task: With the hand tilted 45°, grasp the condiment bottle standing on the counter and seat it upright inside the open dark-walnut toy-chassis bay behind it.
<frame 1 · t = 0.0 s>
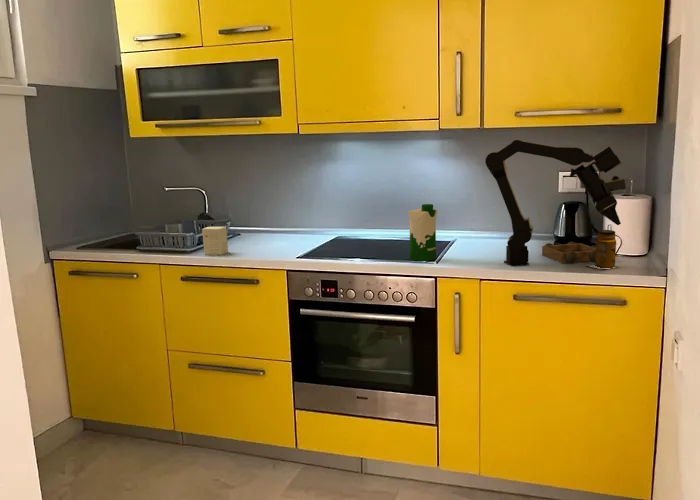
hand: (618, 222, 199), 15 cm above the countertop, tool tilted 35°, fingers open, 9 cm apart
condiment: (602, 267, 204), on the countertop
small box: (216, 254, 248), on the countertop
chassis bay: (571, 257, 219), on the countertop
milk carton: (422, 260, 224), on the countertop
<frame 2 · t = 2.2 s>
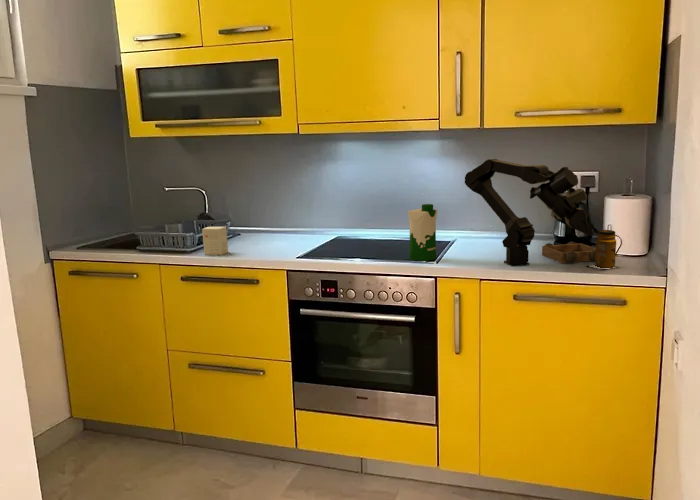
hand: (586, 232, 201), 12 cm above the countertop, tool tilted 45°, fingers open, 9 cm apart
nothing on the countertop moved.
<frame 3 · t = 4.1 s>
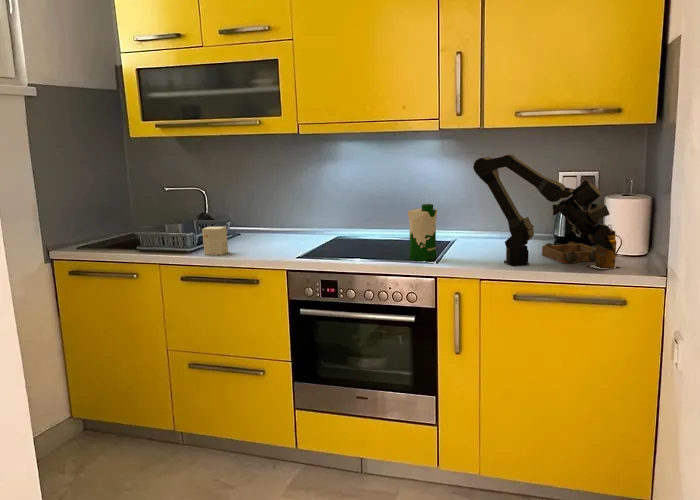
hand: (607, 246, 202), 7 cm above the countertop, tool tilted 45°, fingers closed on condiment, 6 cm apart
condiment: (602, 267, 204), on the countertop, touching gripper
everything else where it was.
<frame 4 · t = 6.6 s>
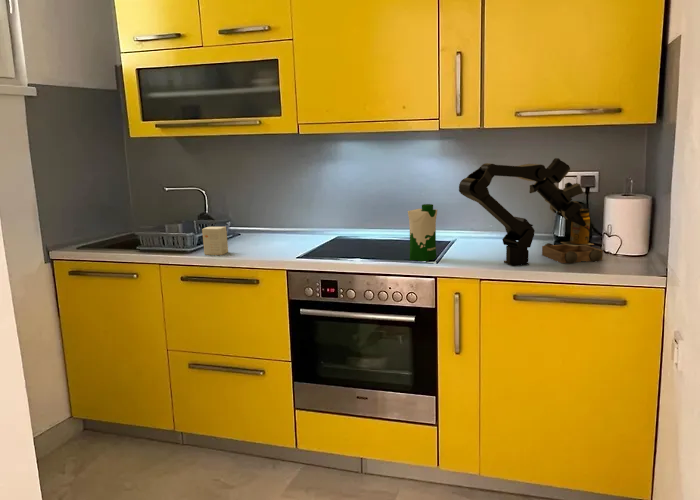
hand: (581, 224, 213), 12 cm above the countertop, tool tilted 45°, fingers closed on condiment, 6 cm apart
condiment: (577, 244, 215), point 5 cm above the countertop, touching gripper
everything else where it was.
when the fingers open (8 cm above the countertop, at t = 8.9 s): condiment stays where it is, resting on chassis bay.
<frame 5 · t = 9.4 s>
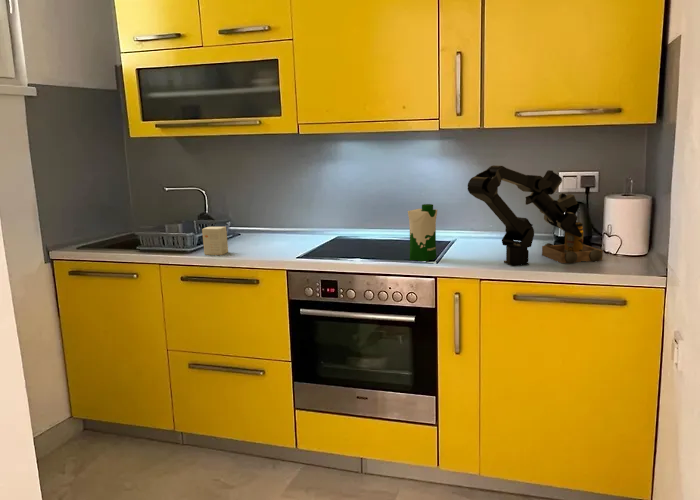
hand: (576, 234, 217), 8 cm above the countertop, tool tilted 45°, fingers open, 9 cm apart
condiment: (571, 257, 218), resting on chassis bay
everything else where it was.
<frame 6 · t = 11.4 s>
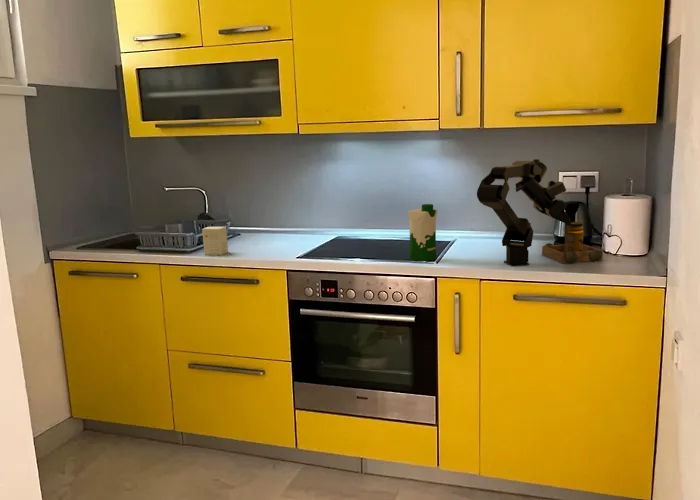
hand: (565, 221, 216), 13 cm above the countertop, tool tilted 45°, fingers open, 9 cm apart
nothing on the countertop moved.
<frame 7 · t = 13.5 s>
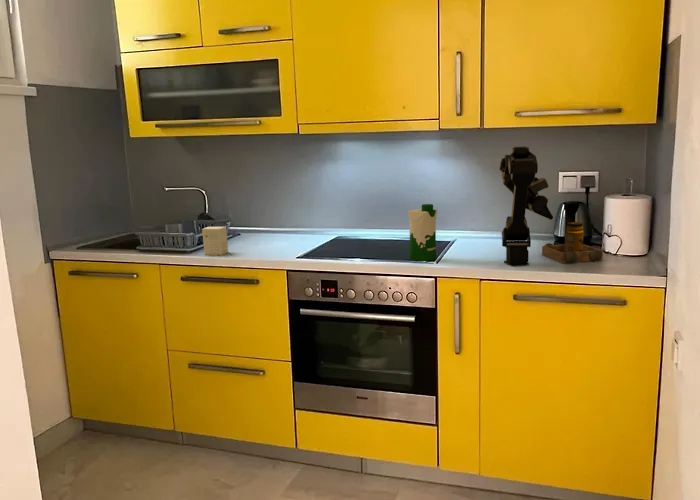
hand: (548, 216, 224), 14 cm above the countertop, tool tilted 45°, fingers open, 9 cm apart
nothing on the countertop moved.
at the end: condiment 0.3 cm off-centre on the chassis bay, point 0.2 cm above the chassis bay's base; condiment tilted 0°; the gripper is holding nothing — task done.
